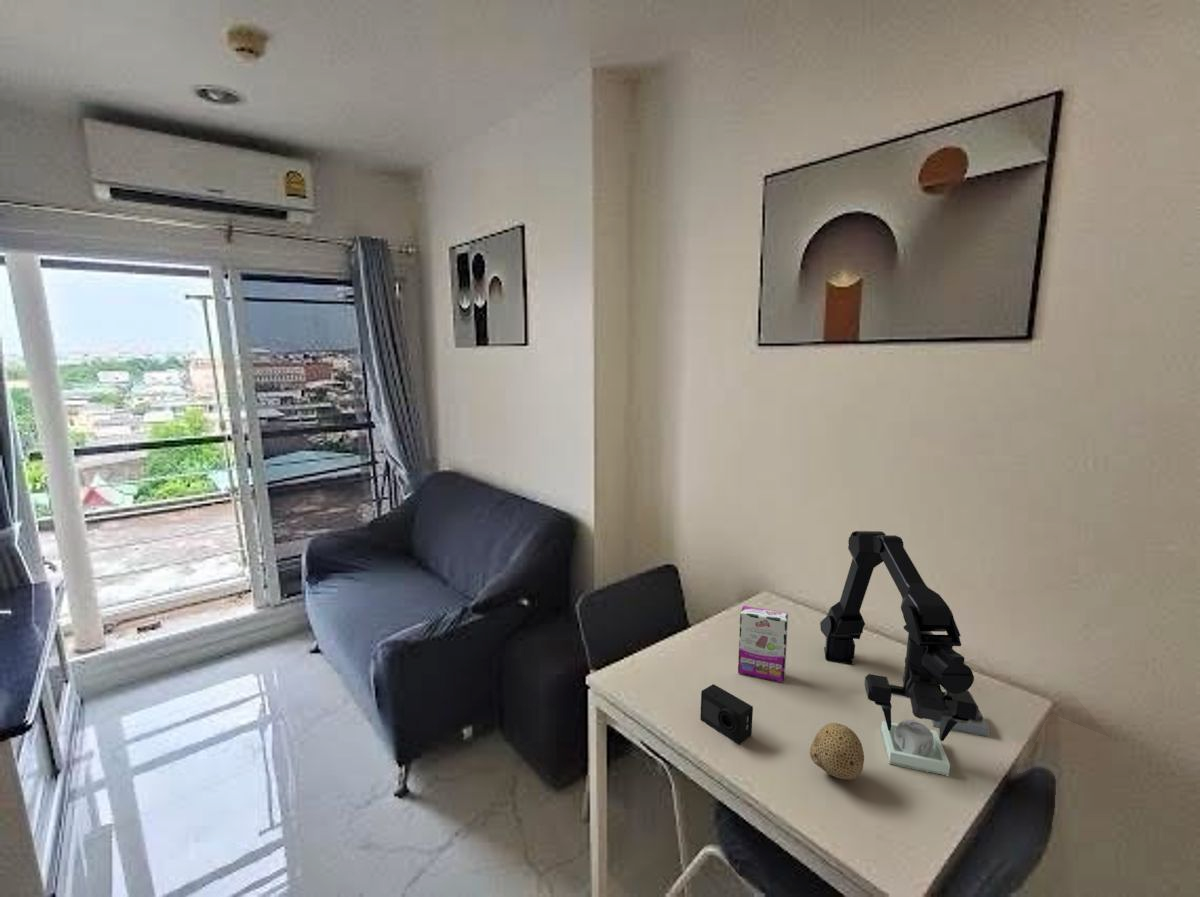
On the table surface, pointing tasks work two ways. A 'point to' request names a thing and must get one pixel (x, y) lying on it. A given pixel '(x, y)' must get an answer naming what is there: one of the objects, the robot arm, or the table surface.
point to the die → (914, 738)
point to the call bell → (970, 726)
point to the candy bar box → (763, 643)
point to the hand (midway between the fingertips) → (914, 734)
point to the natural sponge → (838, 751)
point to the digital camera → (726, 713)
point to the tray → (930, 763)
